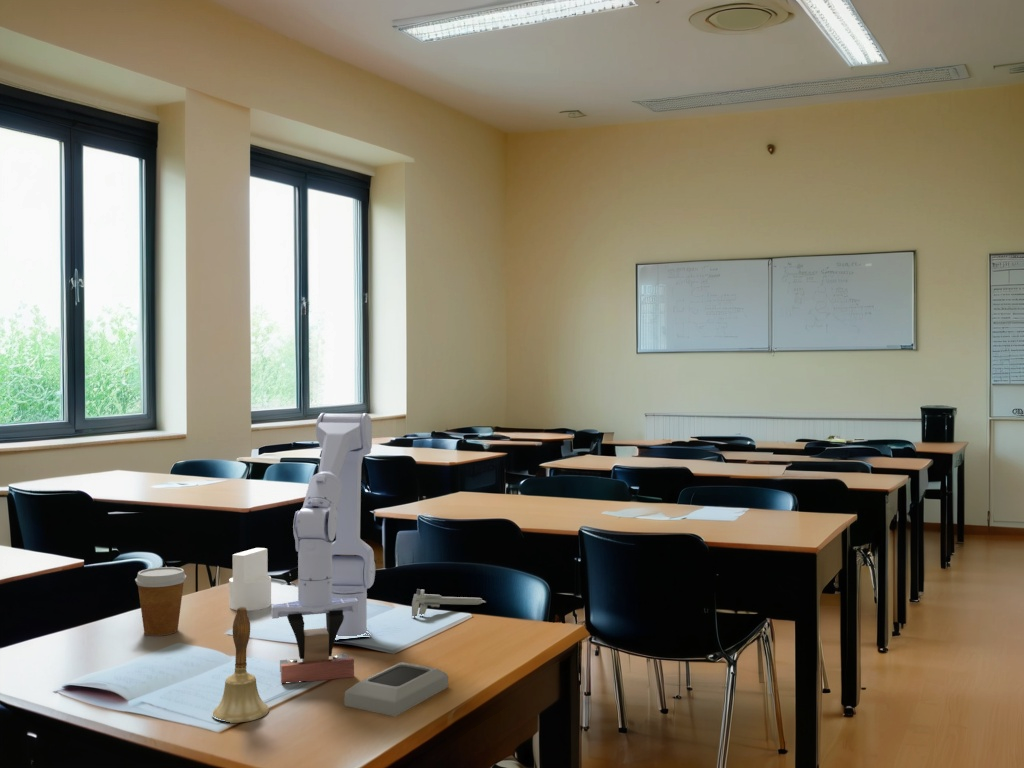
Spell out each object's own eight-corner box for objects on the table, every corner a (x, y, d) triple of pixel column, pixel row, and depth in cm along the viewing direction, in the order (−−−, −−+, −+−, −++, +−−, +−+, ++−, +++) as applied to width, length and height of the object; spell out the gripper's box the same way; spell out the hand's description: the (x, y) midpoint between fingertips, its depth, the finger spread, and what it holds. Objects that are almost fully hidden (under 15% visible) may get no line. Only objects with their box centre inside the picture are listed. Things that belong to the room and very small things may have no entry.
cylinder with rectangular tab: (254, 612, 199) (254, 556, 199) (220, 608, 202) (220, 553, 202) (279, 602, 208) (279, 549, 207) (246, 599, 211) (246, 546, 211)
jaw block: (302, 664, 160) (302, 629, 160) (325, 662, 161) (325, 627, 161) (304, 671, 156) (304, 636, 156) (328, 669, 157) (328, 634, 157)
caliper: (414, 620, 194) (415, 590, 194) (411, 619, 195) (411, 589, 195) (485, 603, 208) (486, 575, 208) (482, 602, 209) (482, 575, 209)
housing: (278, 671, 159) (278, 654, 159) (347, 665, 163) (347, 648, 163) (281, 684, 153) (281, 666, 153) (354, 676, 157) (354, 659, 157)
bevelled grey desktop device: (344, 684, 143) (400, 658, 157) (344, 708, 143) (400, 680, 157) (395, 694, 139) (448, 667, 152) (395, 719, 139) (448, 689, 152)
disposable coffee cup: (124, 635, 181) (124, 574, 181) (159, 623, 190) (159, 565, 190) (162, 640, 178) (162, 578, 178) (196, 628, 187) (196, 568, 186)
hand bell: (219, 704, 144) (219, 602, 144) (273, 703, 144) (273, 601, 144) (205, 724, 135) (205, 616, 135) (263, 722, 136) (263, 615, 136)
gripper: (273, 585, 153) (273, 667, 153) (361, 579, 157) (361, 658, 157) (270, 576, 159) (270, 654, 159) (354, 570, 164) (354, 647, 164)
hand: (315, 656), depth 159 cm, fingers closed on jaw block, 4 cm apart
